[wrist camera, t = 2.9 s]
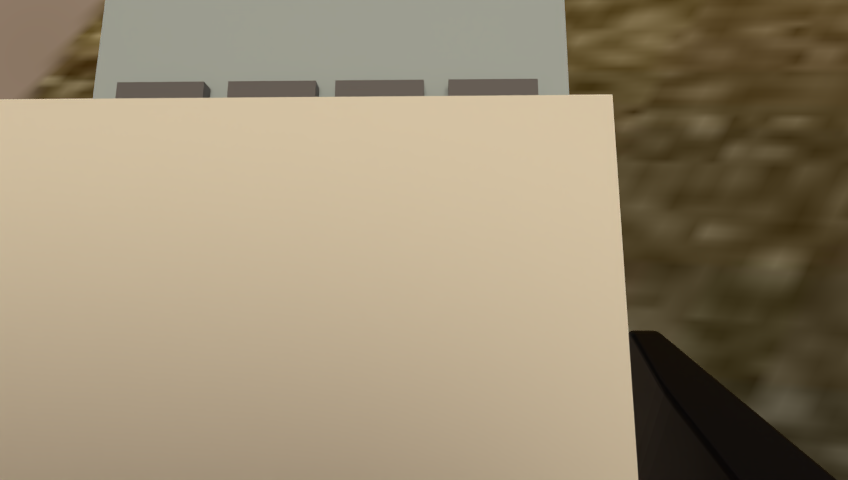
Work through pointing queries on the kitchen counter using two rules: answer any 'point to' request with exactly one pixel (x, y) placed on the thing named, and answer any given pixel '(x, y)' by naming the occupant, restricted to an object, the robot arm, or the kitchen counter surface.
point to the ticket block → (331, 48)
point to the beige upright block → (313, 289)
